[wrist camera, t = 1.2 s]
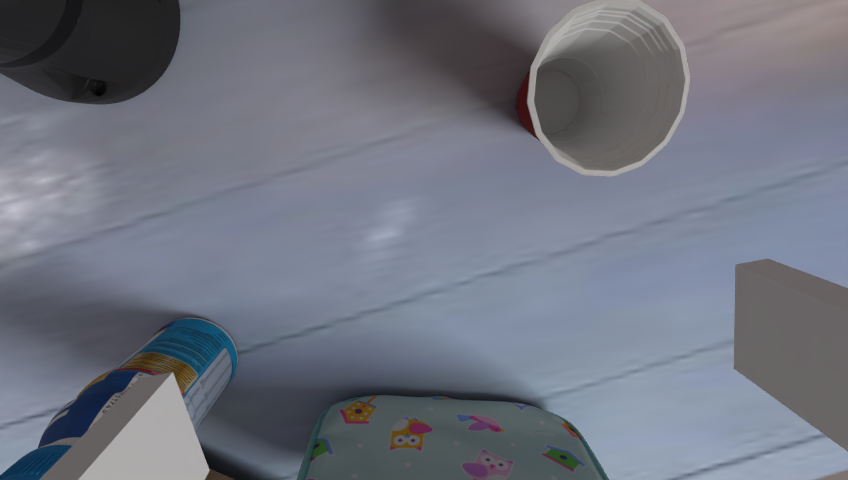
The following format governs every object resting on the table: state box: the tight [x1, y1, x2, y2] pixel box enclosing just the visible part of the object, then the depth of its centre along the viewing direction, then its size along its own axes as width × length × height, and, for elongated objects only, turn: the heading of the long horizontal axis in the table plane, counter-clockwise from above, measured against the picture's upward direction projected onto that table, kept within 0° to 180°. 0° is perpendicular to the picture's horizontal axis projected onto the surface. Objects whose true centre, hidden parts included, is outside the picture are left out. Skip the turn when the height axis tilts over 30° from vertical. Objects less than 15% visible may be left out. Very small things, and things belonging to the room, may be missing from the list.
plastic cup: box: [516, 0, 690, 176], centre depth 33 cm, size 11×11×12 cm
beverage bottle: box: [0, 318, 238, 480], centre depth 33 cm, size 8×8×20 cm
